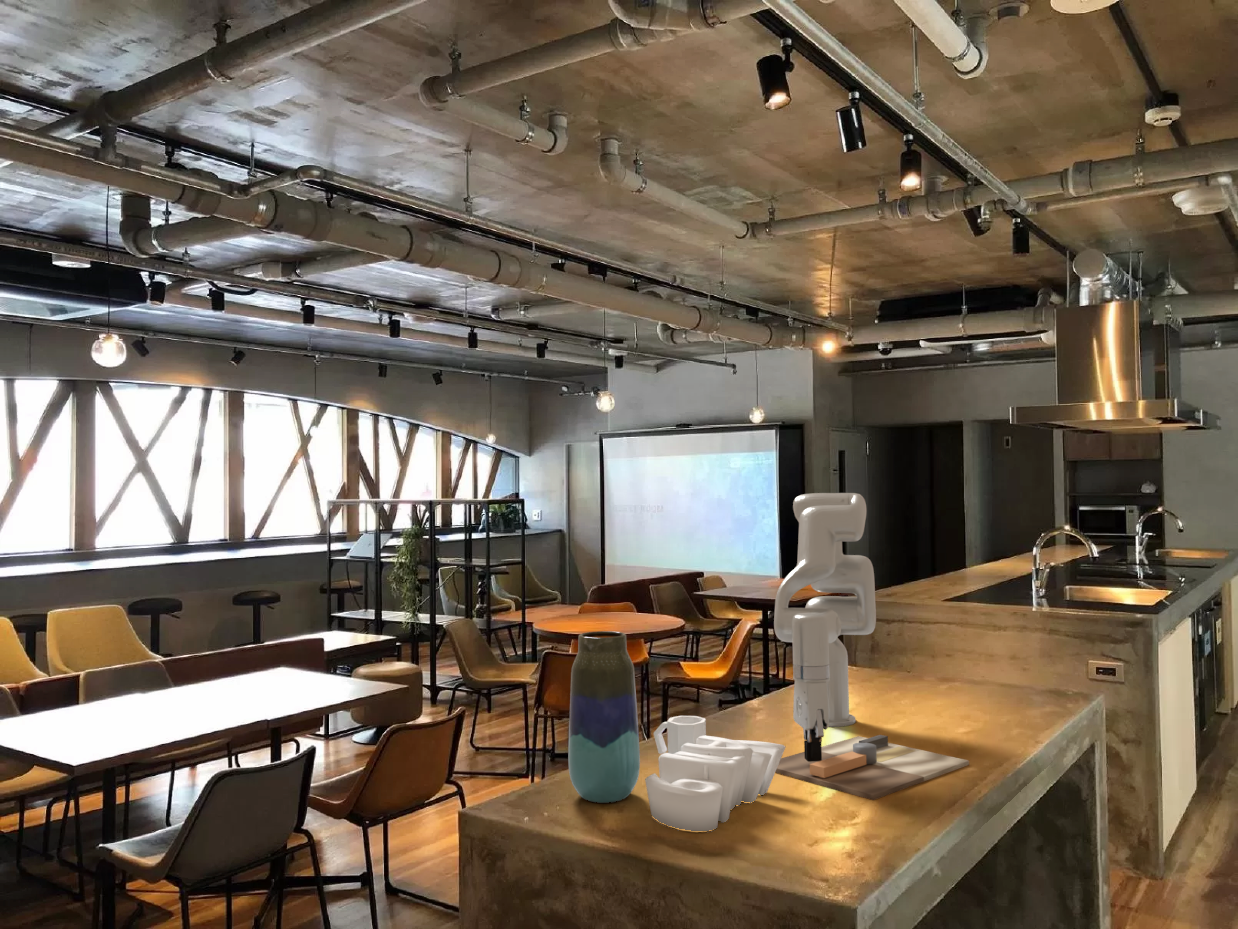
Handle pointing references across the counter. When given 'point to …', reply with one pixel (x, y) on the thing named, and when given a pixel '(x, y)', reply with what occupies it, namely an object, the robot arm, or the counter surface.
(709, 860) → the counter surface
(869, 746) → the bar
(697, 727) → the mug
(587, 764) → the vase
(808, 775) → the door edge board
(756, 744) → the wavy white extrusion
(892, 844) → the counter surface
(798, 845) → the counter surface
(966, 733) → the counter surface
